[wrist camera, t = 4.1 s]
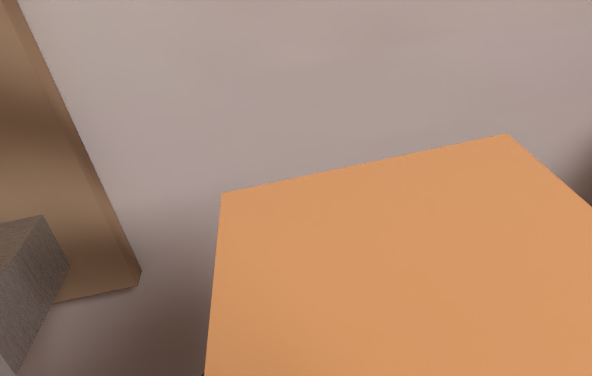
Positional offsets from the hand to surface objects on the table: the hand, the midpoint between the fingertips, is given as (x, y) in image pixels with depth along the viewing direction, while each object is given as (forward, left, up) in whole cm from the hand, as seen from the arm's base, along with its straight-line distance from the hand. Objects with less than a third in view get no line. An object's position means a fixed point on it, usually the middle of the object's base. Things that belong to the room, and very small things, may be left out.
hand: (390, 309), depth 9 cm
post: (-11, +7, -11) cm, 17 cm away
